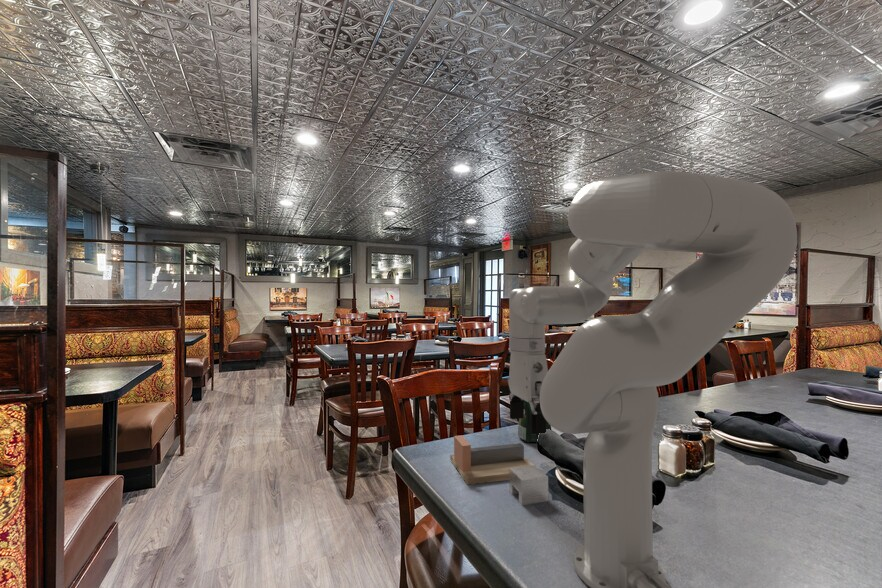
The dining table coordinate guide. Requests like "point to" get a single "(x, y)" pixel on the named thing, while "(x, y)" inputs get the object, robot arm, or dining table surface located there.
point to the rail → (497, 454)
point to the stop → (462, 453)
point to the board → (489, 471)
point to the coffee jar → (528, 425)
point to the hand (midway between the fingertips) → (526, 425)
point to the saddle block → (528, 484)
